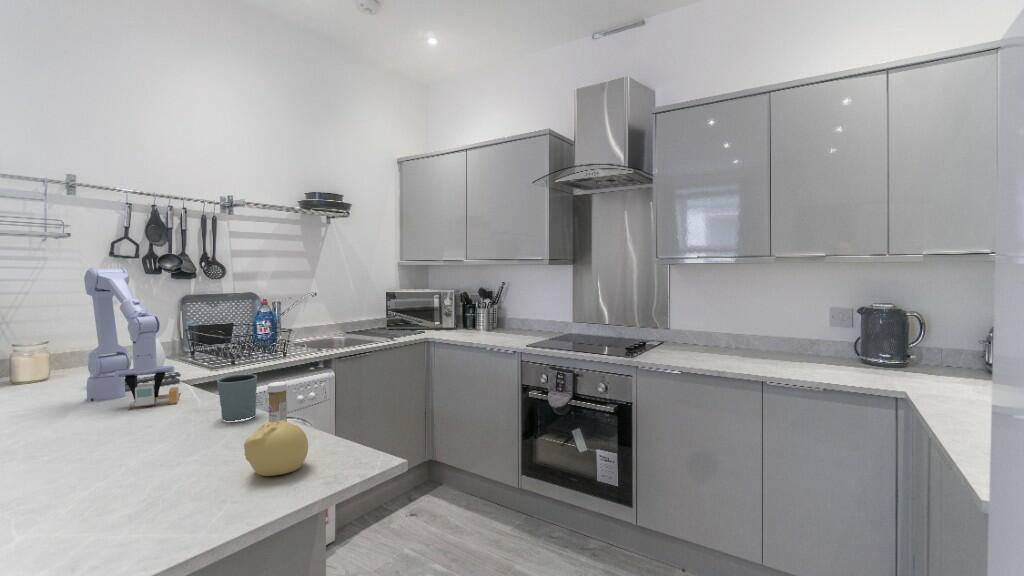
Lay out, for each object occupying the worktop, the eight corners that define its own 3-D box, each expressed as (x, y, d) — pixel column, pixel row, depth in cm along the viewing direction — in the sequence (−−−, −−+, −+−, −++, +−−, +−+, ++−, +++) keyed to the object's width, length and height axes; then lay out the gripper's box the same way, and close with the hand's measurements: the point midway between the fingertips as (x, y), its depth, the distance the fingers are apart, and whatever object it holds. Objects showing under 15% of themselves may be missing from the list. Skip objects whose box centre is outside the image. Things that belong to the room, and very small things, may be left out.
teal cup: (265, 415, 142) (264, 375, 141) (233, 425, 133) (232, 383, 132) (243, 411, 146) (242, 372, 145) (210, 421, 137) (209, 379, 136)
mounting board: (128, 415, 142) (127, 410, 142) (137, 402, 156) (136, 397, 156) (176, 409, 148) (176, 404, 148) (181, 397, 162) (181, 392, 162)
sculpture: (265, 459, 109) (264, 413, 109) (317, 460, 109) (316, 413, 108) (235, 482, 98) (233, 430, 97) (292, 482, 97) (291, 431, 97)
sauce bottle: (155, 374, 196) (154, 331, 196) (137, 374, 197) (135, 331, 196) (169, 370, 204) (168, 329, 203) (151, 370, 204) (150, 329, 204)
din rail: (128, 409, 143) (128, 396, 143) (132, 404, 148) (131, 391, 148) (176, 403, 149) (176, 390, 149) (178, 399, 154) (178, 386, 154)
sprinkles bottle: (264, 434, 125) (263, 384, 125) (279, 429, 130) (277, 380, 129) (277, 437, 124) (276, 386, 123) (291, 431, 128) (290, 382, 127)
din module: (135, 406, 143) (134, 388, 143) (139, 400, 150) (138, 383, 149) (153, 404, 146) (153, 386, 146) (157, 398, 152) (156, 381, 152)
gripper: (111, 359, 140) (113, 404, 141) (172, 354, 147) (173, 397, 148) (116, 355, 146) (118, 398, 147) (174, 351, 153) (175, 392, 154)
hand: (146, 397), depth 148 cm, fingers closed on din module, 4 cm apart
